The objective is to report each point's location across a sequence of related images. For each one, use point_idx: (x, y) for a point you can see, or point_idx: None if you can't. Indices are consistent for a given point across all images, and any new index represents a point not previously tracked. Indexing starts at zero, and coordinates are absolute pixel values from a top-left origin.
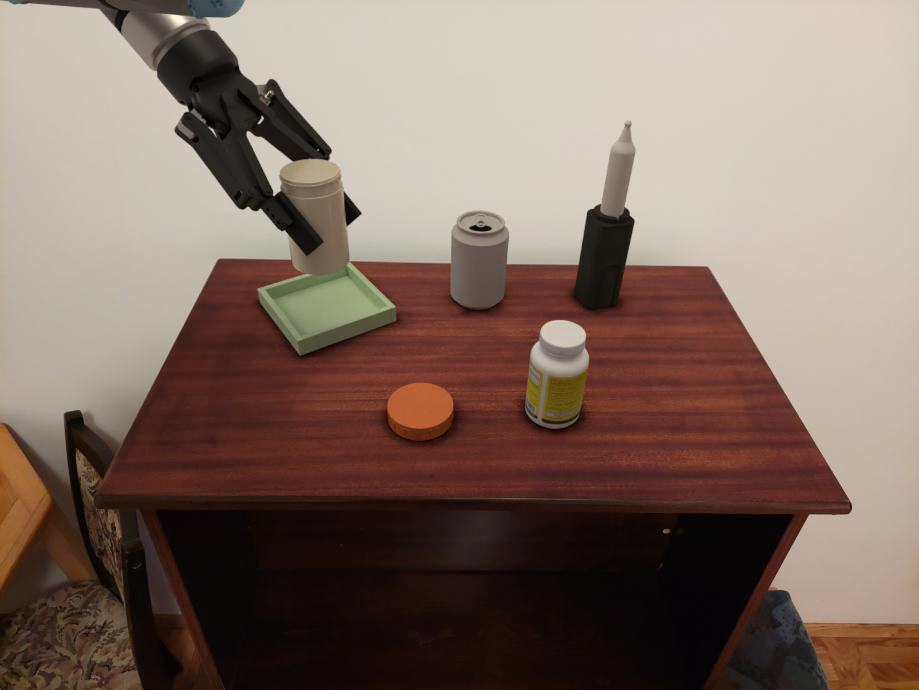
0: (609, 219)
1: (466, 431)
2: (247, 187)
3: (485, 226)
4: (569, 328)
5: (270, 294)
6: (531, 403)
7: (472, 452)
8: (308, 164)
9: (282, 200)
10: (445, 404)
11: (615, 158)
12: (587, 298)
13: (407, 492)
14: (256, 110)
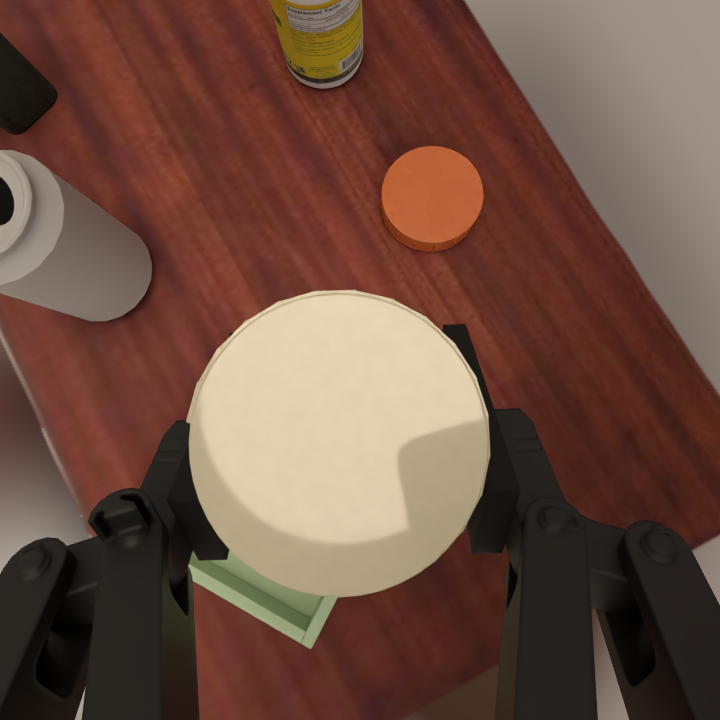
0: None
1: (420, 138)
2: (675, 574)
3: None
4: None
5: (300, 619)
6: (356, 47)
7: (451, 113)
8: (278, 495)
9: (509, 459)
10: (412, 162)
11: None
12: (40, 86)
13: (554, 151)
14: None
